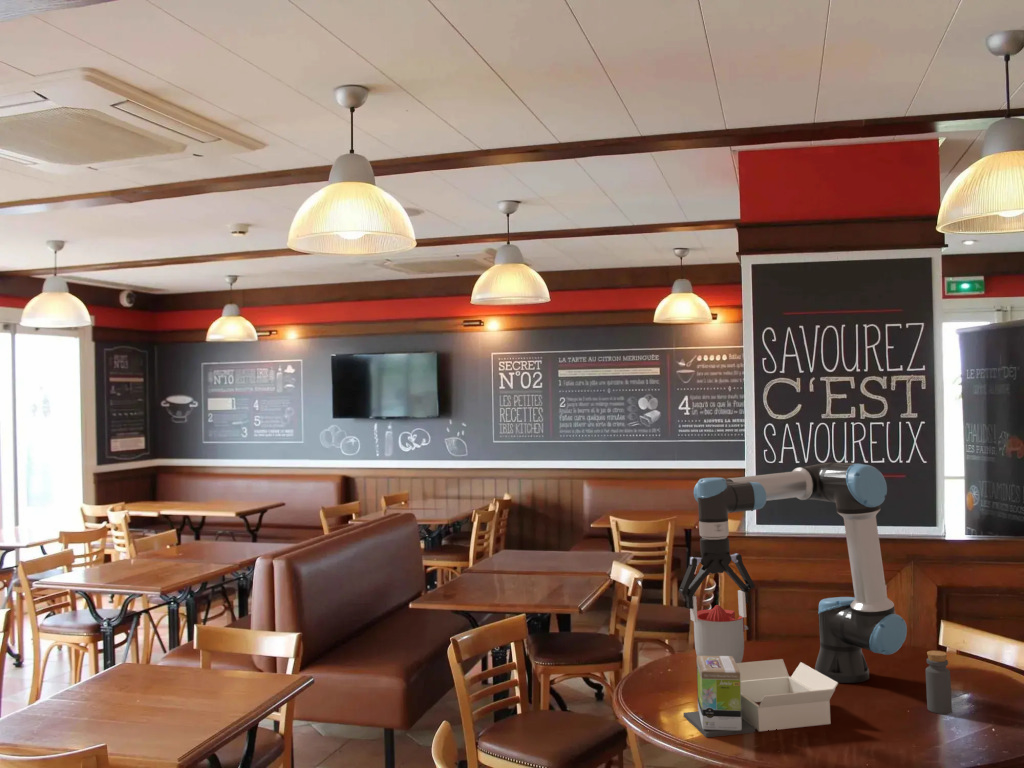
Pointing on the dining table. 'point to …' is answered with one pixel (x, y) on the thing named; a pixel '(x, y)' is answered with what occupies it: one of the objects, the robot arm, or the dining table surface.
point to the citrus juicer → (719, 633)
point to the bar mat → (696, 722)
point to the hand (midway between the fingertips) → (718, 618)
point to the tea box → (719, 693)
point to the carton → (784, 695)
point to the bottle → (938, 683)
